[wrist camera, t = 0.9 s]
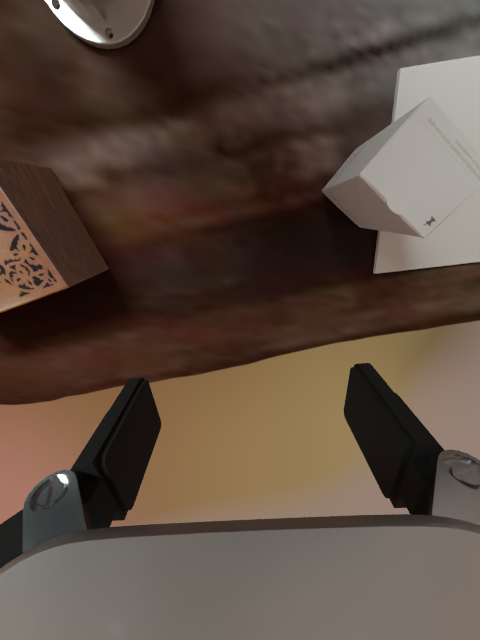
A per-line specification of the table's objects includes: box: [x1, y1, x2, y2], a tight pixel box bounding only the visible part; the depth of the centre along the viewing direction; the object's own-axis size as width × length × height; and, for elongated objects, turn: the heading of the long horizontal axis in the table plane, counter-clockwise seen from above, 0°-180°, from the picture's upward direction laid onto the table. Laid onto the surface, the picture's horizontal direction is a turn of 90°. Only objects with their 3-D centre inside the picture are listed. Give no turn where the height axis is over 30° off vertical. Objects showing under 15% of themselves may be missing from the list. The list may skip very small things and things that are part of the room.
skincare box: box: [322, 97, 480, 238], centre depth 25 cm, size 8×7×16 cm
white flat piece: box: [373, 56, 480, 274], centre depth 31 cm, size 24×19×3 cm
